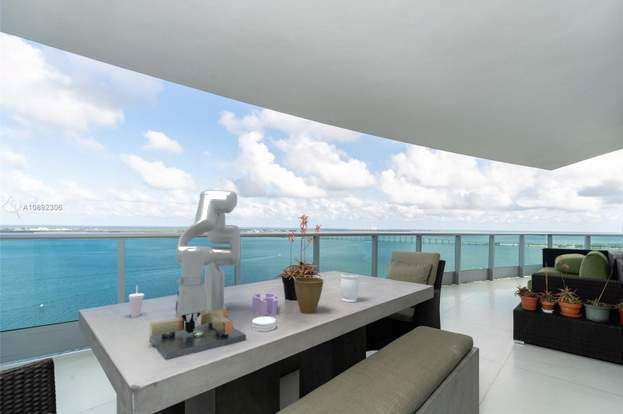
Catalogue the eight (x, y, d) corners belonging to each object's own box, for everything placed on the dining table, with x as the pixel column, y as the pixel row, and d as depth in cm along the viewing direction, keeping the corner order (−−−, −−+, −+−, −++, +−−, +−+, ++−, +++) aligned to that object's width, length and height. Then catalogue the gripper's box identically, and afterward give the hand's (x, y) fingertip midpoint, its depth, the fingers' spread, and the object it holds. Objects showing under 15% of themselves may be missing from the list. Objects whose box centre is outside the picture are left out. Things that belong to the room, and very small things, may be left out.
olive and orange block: (152, 341, 107) (152, 325, 107) (148, 337, 110) (149, 322, 111) (184, 334, 114) (185, 319, 115) (180, 331, 118) (181, 316, 118)
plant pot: (289, 314, 152) (290, 280, 153) (298, 306, 166) (298, 276, 167) (319, 316, 148) (320, 282, 149) (325, 308, 162) (326, 277, 163)
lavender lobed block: (282, 315, 150) (283, 300, 151) (256, 317, 146) (257, 302, 147) (273, 304, 169) (273, 292, 170) (250, 306, 165) (250, 293, 165)
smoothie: (126, 318, 139) (128, 286, 140) (127, 315, 144) (129, 284, 145) (143, 317, 142) (145, 285, 143) (143, 313, 147) (145, 283, 148)
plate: (149, 341, 113) (149, 332, 113) (222, 326, 131) (222, 318, 132) (166, 359, 98) (166, 349, 98) (245, 339, 116) (246, 331, 116)
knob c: (210, 331, 119) (210, 316, 119) (220, 328, 122) (221, 314, 122) (222, 339, 110) (223, 323, 111) (234, 336, 113) (234, 321, 114)
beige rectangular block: (201, 329, 120) (202, 315, 121) (197, 326, 124) (197, 312, 124) (228, 323, 128) (228, 310, 128) (223, 321, 131) (223, 308, 131)
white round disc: (259, 323, 137) (260, 315, 137) (280, 326, 134) (280, 317, 134) (247, 330, 128) (247, 321, 128) (268, 333, 124) (268, 324, 125)
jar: (339, 302, 177) (340, 275, 178) (341, 298, 187) (341, 273, 188) (358, 303, 175) (358, 276, 176) (358, 299, 186) (359, 273, 187)
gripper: (174, 285, 108) (171, 339, 107) (215, 280, 118) (213, 330, 117) (167, 281, 114) (165, 333, 113) (207, 278, 124) (205, 325, 122)
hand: (189, 331), depth 115 cm, fingers closed
